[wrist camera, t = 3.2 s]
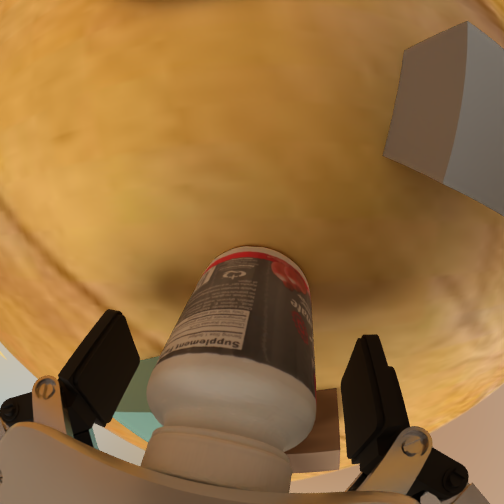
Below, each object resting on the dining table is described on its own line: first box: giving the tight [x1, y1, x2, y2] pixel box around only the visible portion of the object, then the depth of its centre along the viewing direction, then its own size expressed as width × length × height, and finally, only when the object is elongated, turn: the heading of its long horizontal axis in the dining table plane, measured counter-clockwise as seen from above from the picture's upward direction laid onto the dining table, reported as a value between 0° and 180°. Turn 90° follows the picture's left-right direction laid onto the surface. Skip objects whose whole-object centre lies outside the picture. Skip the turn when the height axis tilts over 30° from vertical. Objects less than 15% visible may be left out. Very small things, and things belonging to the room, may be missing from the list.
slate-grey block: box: [383, 21, 504, 216], centre depth 6 cm, size 5×5×5 cm
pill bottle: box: [140, 246, 316, 493], centre depth 9 cm, size 5×5×10 cm
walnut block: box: [284, 388, 340, 473], centre depth 16 cm, size 5×5×5 cm
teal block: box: [113, 356, 163, 442], centre depth 16 cm, size 5×5×5 cm
